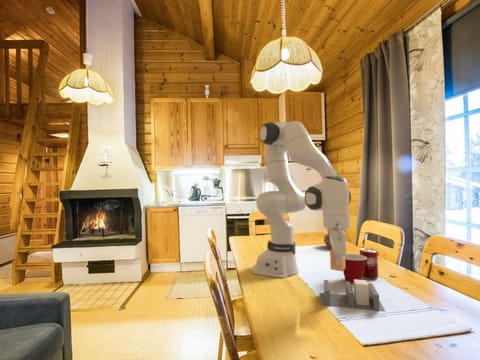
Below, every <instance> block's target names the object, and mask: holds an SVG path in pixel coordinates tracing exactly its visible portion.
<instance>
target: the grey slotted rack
mask: <svg viewBox="0 0 480 360" xmlns="http://www.w3.org/2000/svg"><path fill="white" fill-rule="evenodd" d="M344 282H345V294H340V293H331V290H330V284H329V280H328V279H323V291H324V292H319V305H320V306H325V307H333V308H336V307H337V308H344V309H345V308H346V309H355V310H356V309H358V310H365V311H377V312H386V309H385V308H384V306H383V304H382V303H381V301H380V295H379V293H378V291H377V289H376V287H375V285H374V284H373V283H372V282H367V283H368V285H369V306H368V305H357V304H356V303H355V300H354V288H353V287H352V283H350V282H348V281H345V280H344Z"/></svg>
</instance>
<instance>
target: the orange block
mask: <svg viewBox="0 0 480 360" xmlns="http://www.w3.org/2000/svg"><path fill="white" fill-rule="evenodd" d="M329 257H330V259H329V263H330V270H333V271H338V272H343V270H344V269H345V255H342V264H341V265H337V264H336V257H335V254H334V252H333V248H329Z"/></svg>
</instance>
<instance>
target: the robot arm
mask: <svg viewBox="0 0 480 360" xmlns="http://www.w3.org/2000/svg"><path fill="white" fill-rule="evenodd" d="M259 138H260V139H259V140H261V141H260V142H262V143H263V144H264V145H266V148H265V167H266V177H267V180H268V181H269V182H270V183H271V184H273V185H274V186H276V187H277V190H272V191H271V190H269V191H264V192H262V193H261V192H260V194H259V195H258V196H257V198H256V202H255V203H256V209H258V211H259V212H260V213H261V214H262V215H263V216H265V218H266V219H267V221H268V224H269V227H270V239H271V240H268V241H267V244H266V248H267V249H266V250H264V251H263V252H261V254H259V255H258V256H257V259H256V263H255V264H254V265H253V266H252V267H251V273H252V274H254V275H259V276H267V277H273V278H279V279H280V278H281V279H283V278H287V277H290V276H291V277H292V276H295V275H297V274H298V273H299V268H298V264H297V260H296V252H297V249H296V247H297V246H296V241H295V227H294V225H293V224H292V223H291V222H290V221H288V220H286V218H285V215H284V214H290V213H291V214H292V213H297V212H301V211H303V210H304V209H305V208H306V207H307V208H308V209H309V210H311V211H322V217H323V220H322V221H323V222H322V223H323V227H324V228H326V231H327V232H328V233H329V238H330V242H331V245H332V248H333V252H334V254H335V257H336V264H337V265H341V264H342V255H346V254H347V243H346V233H347V229H350V227H351V214H350V209H349V205H350V203H351V200H352V193H351V191H350V189H349V184H348V182H347V181H348V180H347V179H346V177H344V176H343V177H342V176H339V175H338V173H337V171H336V170H335V169H334V167H333V165H332V164H331V162H330V160H329V159H328V158H327V156H326V155H325V154H324V153H323V152H321V150H319V148H318V147H317V146H316V145H315V143H314V142H313V141H312V140H313V139H312V138H311V136H310V134H309V132H308V129H306V127H305V126H304V125H303V123H302V122H300V121H297V120H291V121H289V122H286V121H283V122H281V121H280V122H279V121H278V122H272V121H269V122H265V123H263V124H262V125H261V127H260V131H259ZM288 156H289V158H290V160H292V161H293V162H294V163H295V164H298V165H300V166H301V165H302V166H304V167H308V168H311V169H313V170H315V171H316V172H317V173H318V174H319V175H320V177H321V178H322V180H321V181H320V182H318V183H316V184H314V185H312V186H309V187H308V188H307V189H306V191H305V193H304V192H303V191H301V190H300V189H299V188H298V187H297V186H296V185H295V183H294V182H293V179H292V177H291V173H290V165H289V160H288V159H289V158H288Z"/></svg>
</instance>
